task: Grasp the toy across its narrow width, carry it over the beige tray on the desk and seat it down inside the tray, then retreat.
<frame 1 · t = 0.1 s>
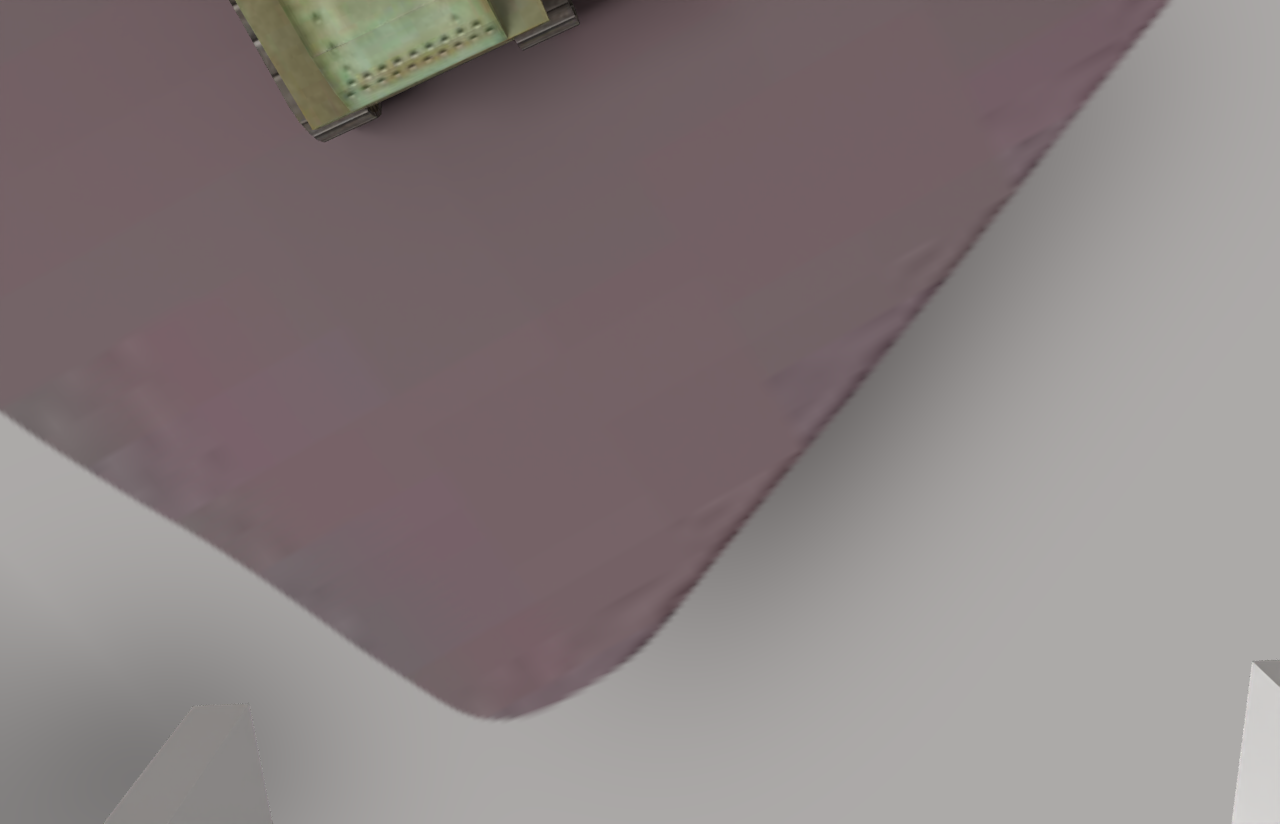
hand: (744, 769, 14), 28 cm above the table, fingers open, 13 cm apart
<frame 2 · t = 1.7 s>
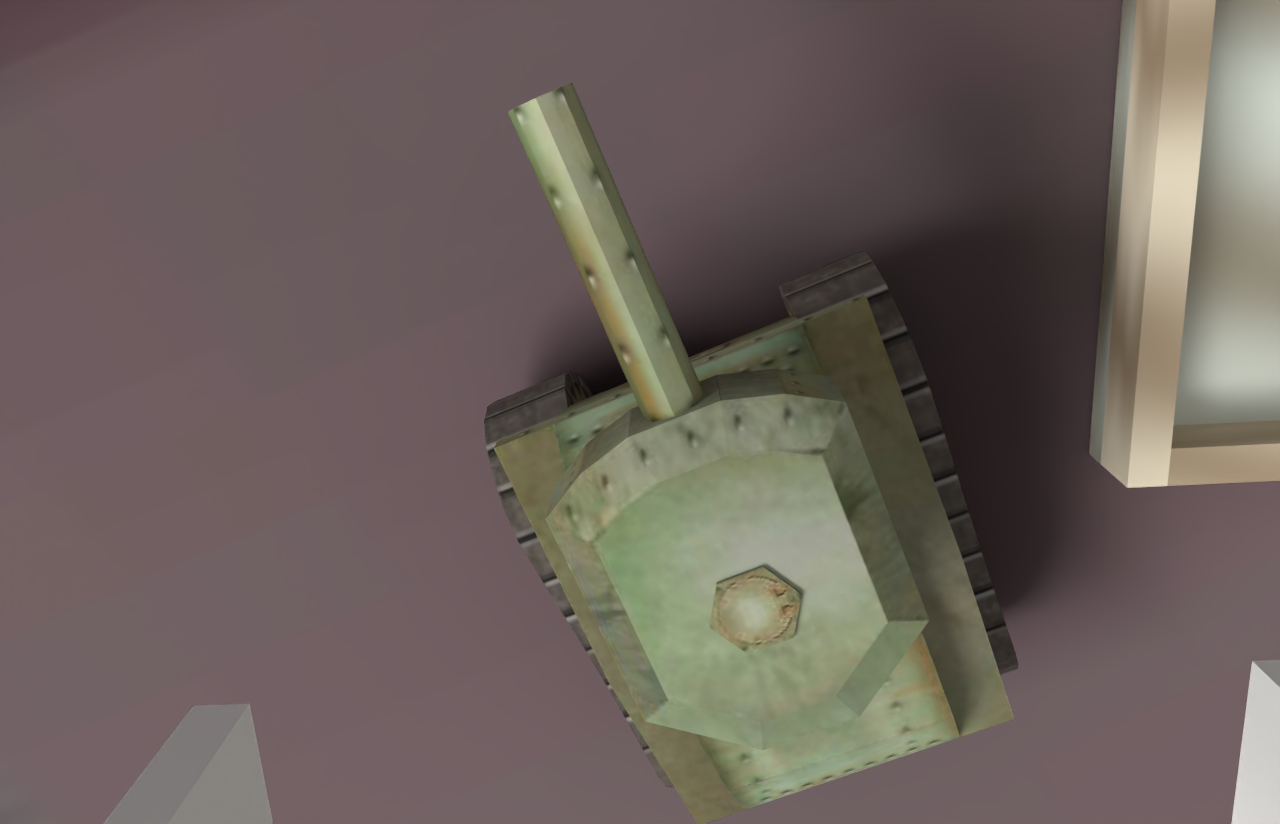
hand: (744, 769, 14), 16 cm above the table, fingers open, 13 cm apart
toy: (714, 410, 29), on the table
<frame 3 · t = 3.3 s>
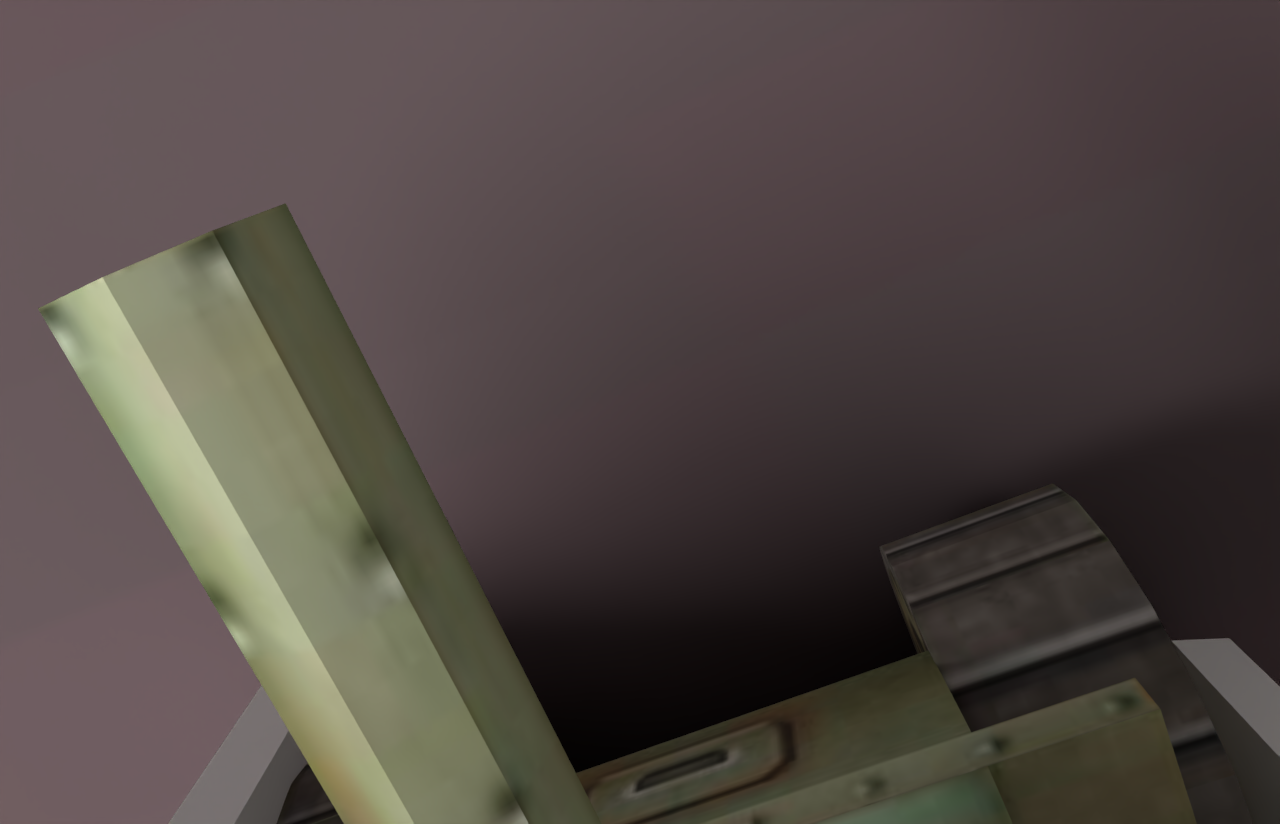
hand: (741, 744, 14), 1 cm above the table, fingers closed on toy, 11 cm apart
toy: (741, 724, 16), on the table, touching gripper
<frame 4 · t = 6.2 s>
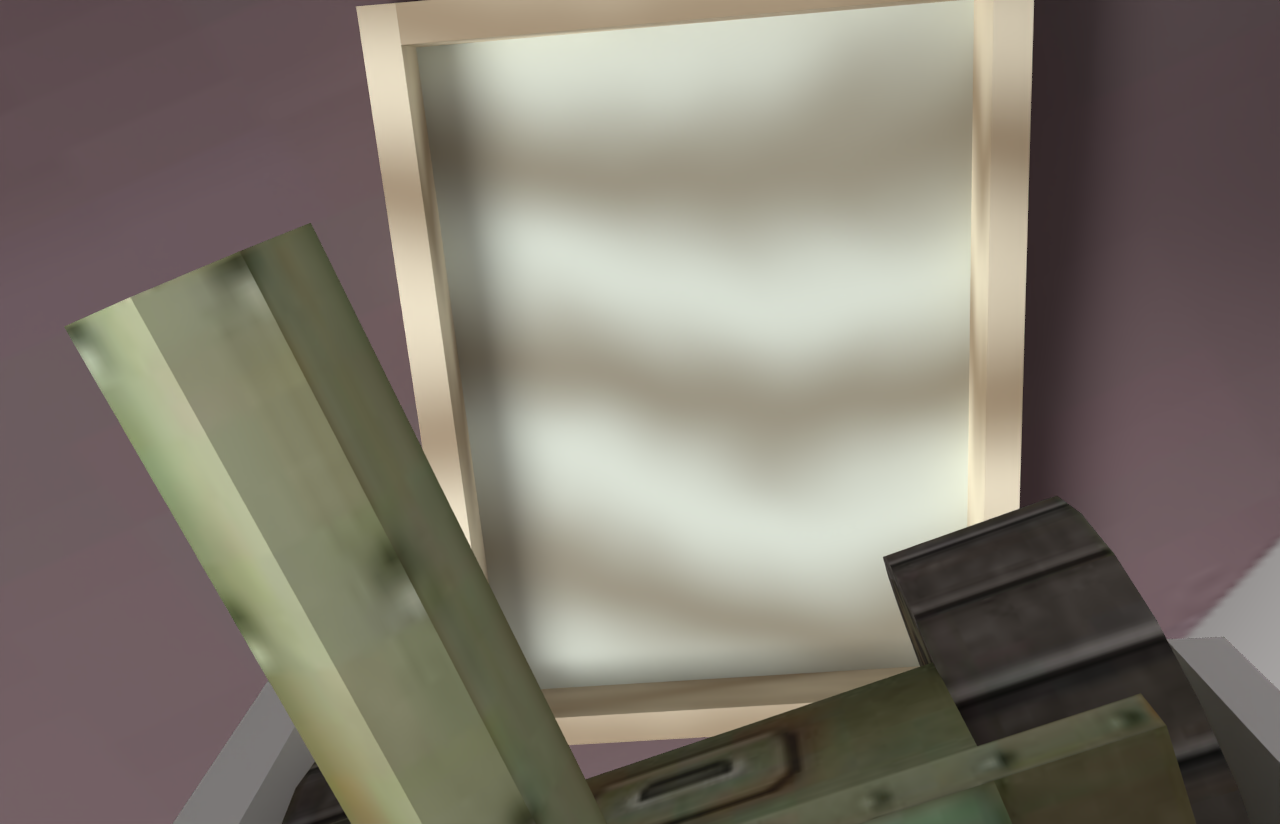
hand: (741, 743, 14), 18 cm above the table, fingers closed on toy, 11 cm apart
beige tray: (712, 374, 32), on the table
toy: (742, 731, 16), point 17 cm above the table, touching gripper
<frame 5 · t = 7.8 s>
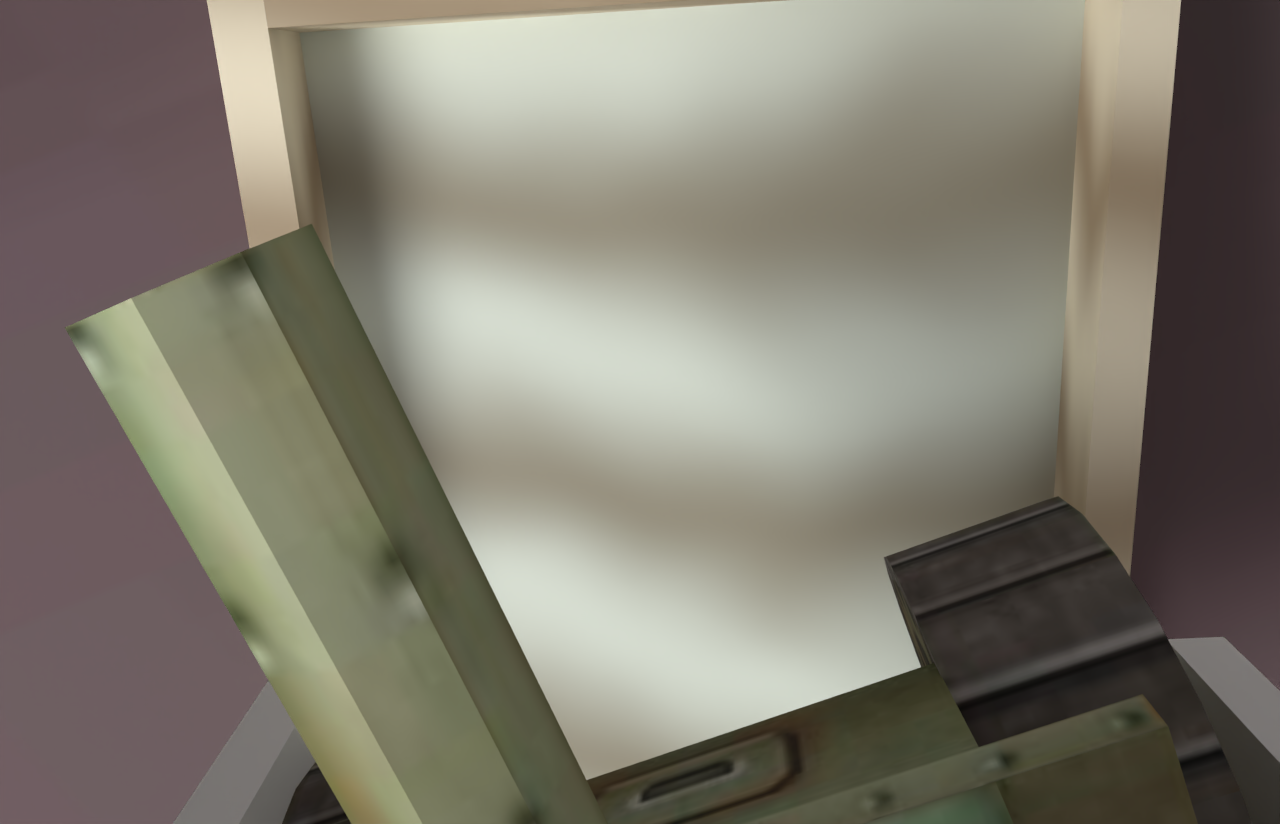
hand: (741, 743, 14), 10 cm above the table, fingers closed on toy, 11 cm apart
beige tray: (707, 481, 24), on the table
toy: (743, 732, 16), point 8 cm above the table, touching gripper
when the fingers open (5 cm above the table, at t = 9.3 s): toy drops 3 cm, resting on beige tray.
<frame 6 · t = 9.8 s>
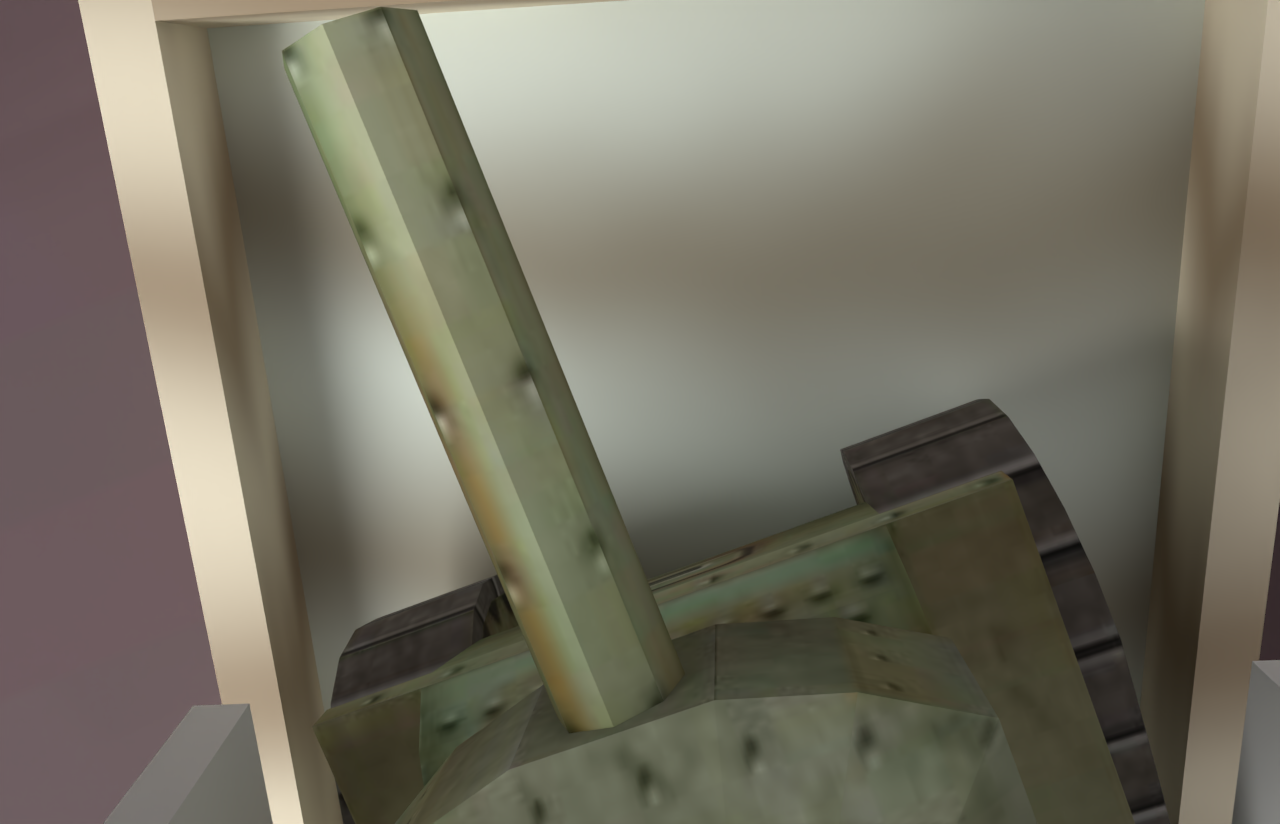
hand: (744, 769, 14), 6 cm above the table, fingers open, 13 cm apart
beige tray: (721, 577, 19), on the table
toy: (734, 641, 18), point 1 cm above the table, touching beige tray
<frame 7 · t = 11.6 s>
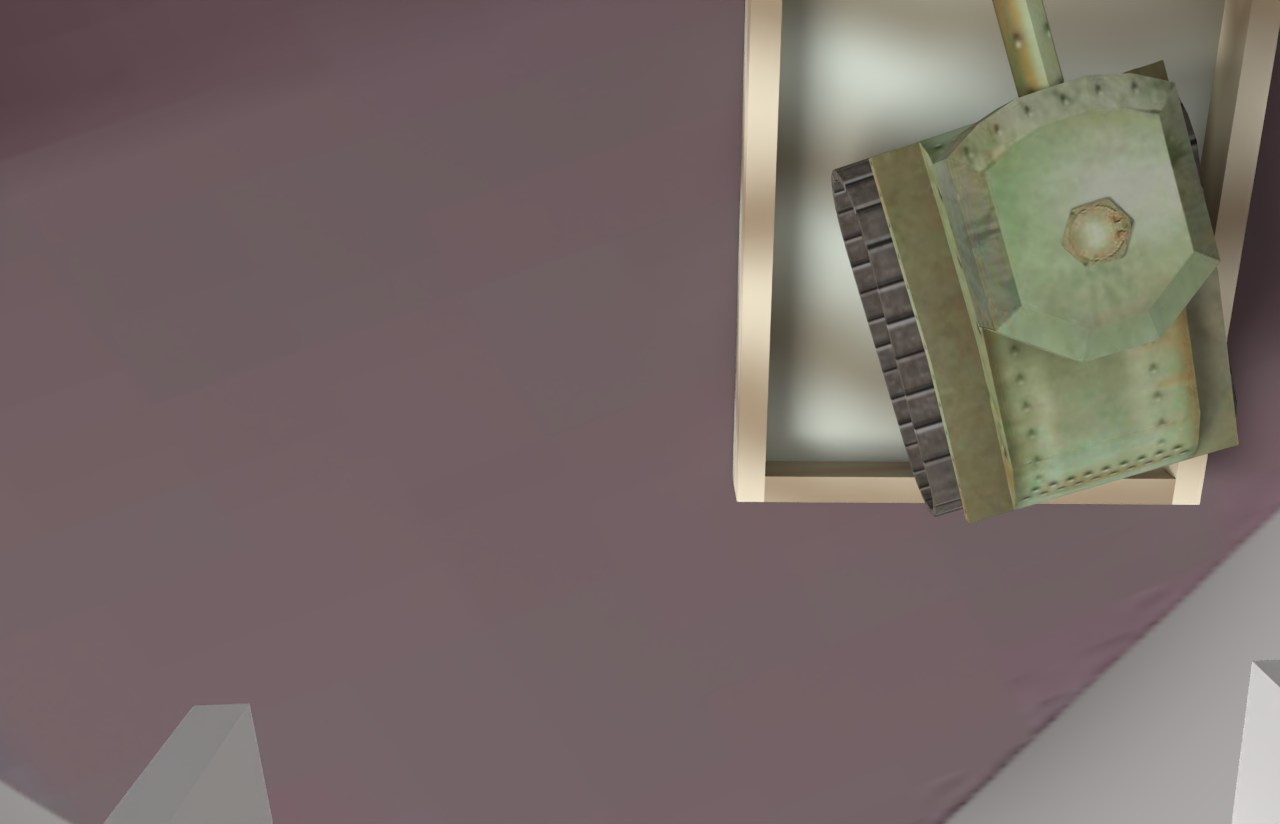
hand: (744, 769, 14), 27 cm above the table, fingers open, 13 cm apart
beige tray: (975, 194, 38), on the table
toy: (985, 218, 37), point 1 cm above the table, touching beige tray
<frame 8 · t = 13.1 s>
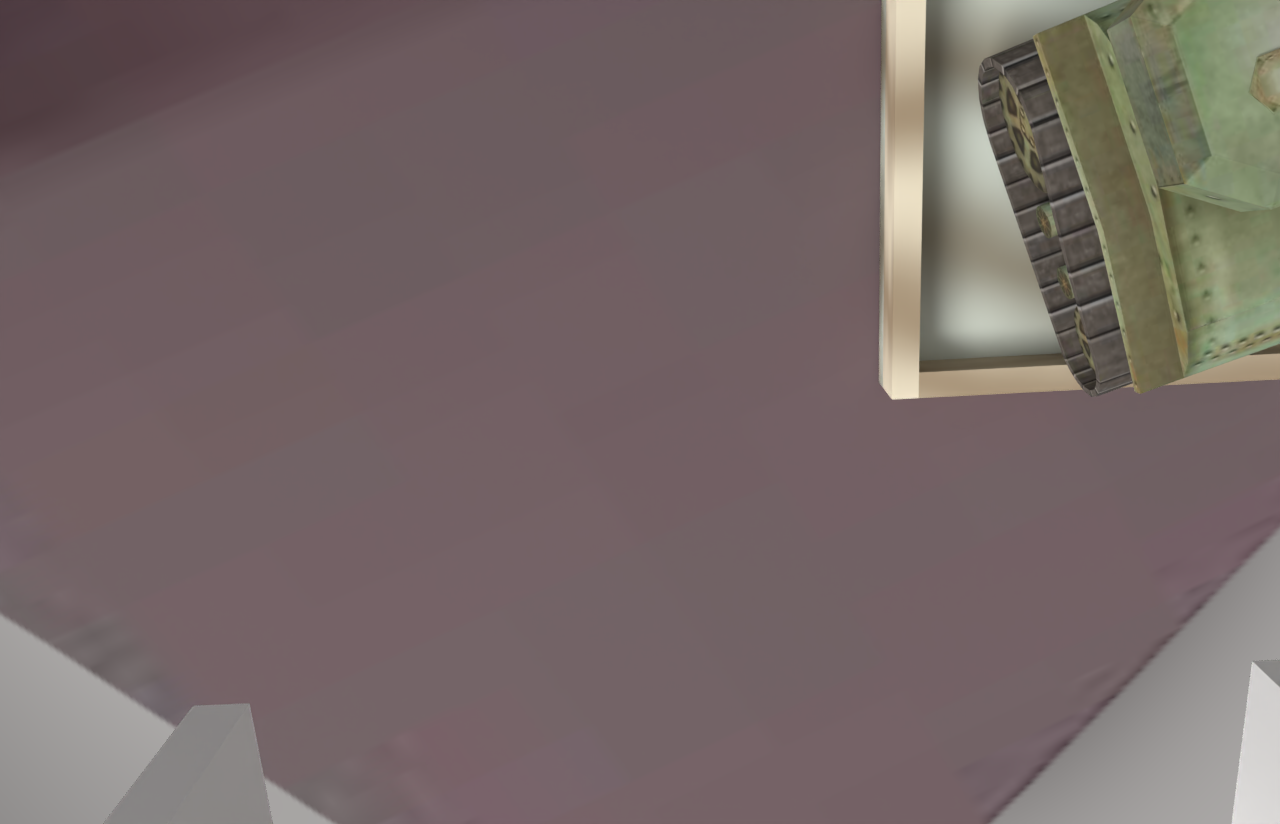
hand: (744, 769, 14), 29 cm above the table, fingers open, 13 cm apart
beige tray: (1112, 82, 38), on the table
toy: (1127, 103, 38), point 1 cm above the table, touching beige tray
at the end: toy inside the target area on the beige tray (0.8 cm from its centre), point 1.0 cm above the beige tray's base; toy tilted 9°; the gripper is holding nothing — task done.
